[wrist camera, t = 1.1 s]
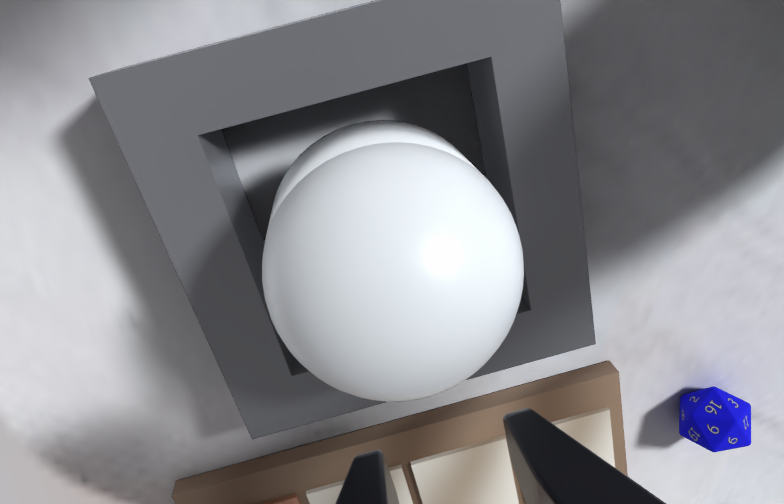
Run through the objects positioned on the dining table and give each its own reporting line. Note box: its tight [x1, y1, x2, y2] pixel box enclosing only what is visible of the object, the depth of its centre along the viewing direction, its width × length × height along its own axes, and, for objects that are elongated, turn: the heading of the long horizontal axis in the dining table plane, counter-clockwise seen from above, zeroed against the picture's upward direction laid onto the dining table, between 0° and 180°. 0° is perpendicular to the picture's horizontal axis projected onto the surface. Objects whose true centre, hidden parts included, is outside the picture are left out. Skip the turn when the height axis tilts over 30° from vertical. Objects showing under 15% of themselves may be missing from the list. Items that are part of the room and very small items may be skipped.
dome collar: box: [89, 0, 596, 439], centre depth 18 cm, size 12×12×3 cm
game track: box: [172, 361, 627, 504], centre depth 24 cm, size 18×7×1 cm, turn 104°
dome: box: [262, 120, 524, 402], centre depth 14 cm, size 6×6×6 cm
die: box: [679, 387, 751, 452], centre depth 24 cm, size 3×3×3 cm
